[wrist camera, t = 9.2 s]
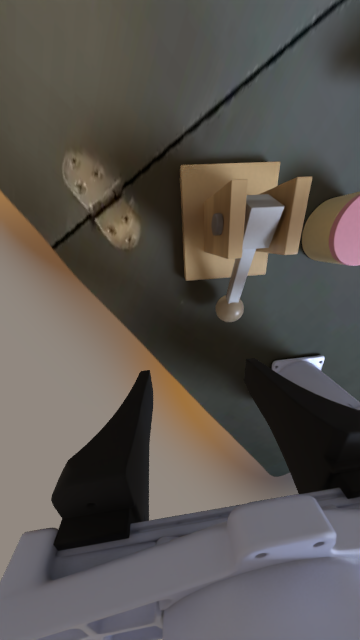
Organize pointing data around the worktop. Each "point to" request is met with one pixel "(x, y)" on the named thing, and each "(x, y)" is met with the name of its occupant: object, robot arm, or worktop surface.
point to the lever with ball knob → (249, 250)
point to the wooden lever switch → (235, 215)
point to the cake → (334, 231)
